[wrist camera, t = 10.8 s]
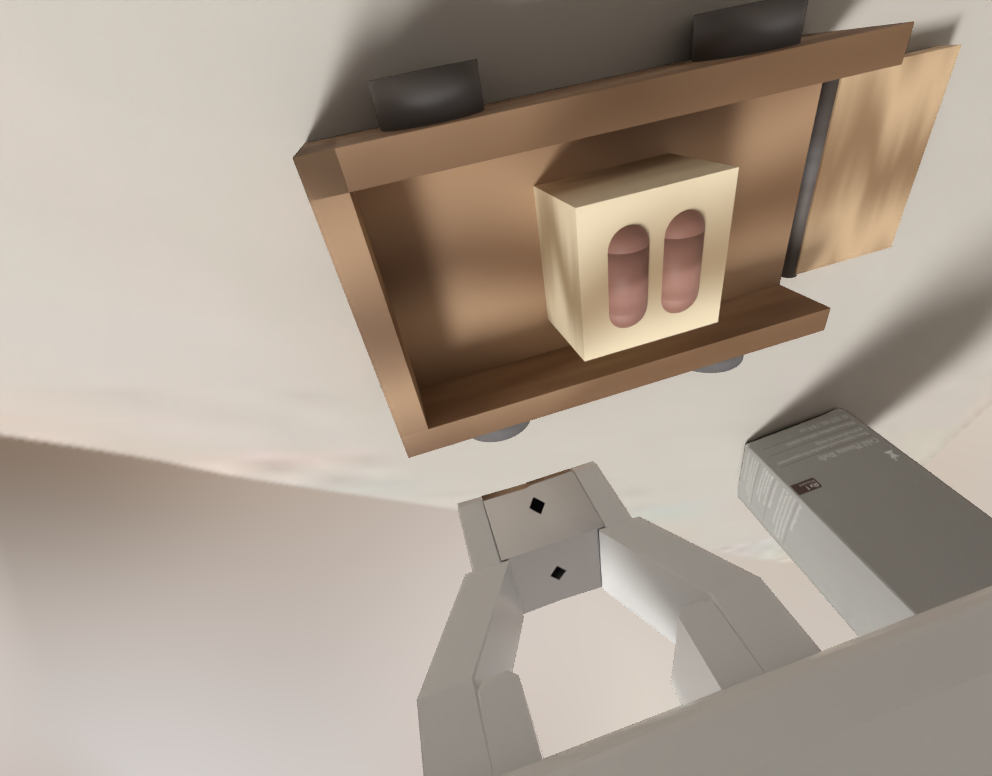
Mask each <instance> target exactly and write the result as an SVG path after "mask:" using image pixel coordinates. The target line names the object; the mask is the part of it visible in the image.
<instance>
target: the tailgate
mask: <svg viewBox="0 0 992 776" xmlns="http://www.w3.org/2000/svg"><path fill="white" fill-rule="evenodd" d="M960 47H961V45H949V46H937V47H932V48H928V49H924V50H919V51H915V52H911V53H906V54H905V55H904V59H903V62H902V64H901V65H897V66H893V67H888V68H884V69H880V70H875V71H871V72H867V73H862V74H858V75H854V76H849V77H845V78H841V79H837V80H832V81H828V82H824V83H822V87H821V92H820V97H819V101H818V106H817V111H816V115H815V120H814V125H813V130H812V134H811V139H810V144H809V148H808V153H807V158H806V162H805V167H804V172H803V176H802V181H801V186H800V190H799V195H798V200H797V205H796V209H795V214H794V219H793V223H792V228H791V233H790V237H789V242H788V247H787V251H786V256H785V261H784V265H783V270H782V275H781V277H784V278H793V277H796V276H797V274H799V273H803V272H806V271H810V270H813V269H817V268H820V267H823V266H827V265H830V264H834V263H837V262H841V261H844V260H848V259H851V258H854V257H858V256H861V255H865V254H868V253H872V252H875V251H879V250H882V249H885V248H889V247H891V246H892V243H893V240H894V237H895V234H896V231H897V228H898V225H899V223H900V220H901V217H902V214H903V211H904V208H905V205H906V202H907V200H908V197H909V194H910V191H911V188H912V185H913V182H914V179H915V177H916V174H917V171H918V168H919V165H920V162H921V159H922V156H923V154H924V151H925V148H926V145H927V142H928V139H929V136H930V134H931V131H932V128H933V125H934V122H935V119H936V116H937V113H938V111H939V108H940V105H941V102H942V99H943V96H944V93H945V90H946V88H947V85H948V82H949V79H950V76H951V73H952V70H953V67H954V65H955V62H956V59H957V56H958V53H959V50H960Z"/></svg>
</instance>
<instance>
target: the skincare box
mask: <svg viewBox="0 0 992 776" xmlns="http://www.w3.org/2000/svg"><path fill="white" fill-rule="evenodd" d="M737 496H738V498H739V499H740V500H741V501H742V502H743V503H744V504H745V506H746V507H747V508H748V509H749V510H750V511H751V513H752V514H753V515H754V516H755V517H756V519H757V520H758V521H759V522H760V523H761V524H762V526H763V527H764V528H765V529H766V530H767V531H768V533H769V534H770V535H771V536H772V537H773V538H774V539H775V541H776V542H777V543H778V544H779V545H780V546H781V548H782V549H783V550H784V551H785V552H786V553H787V555H788V556H789V557H790V558H791V559H792V560H793V561H794V563H795V564H796V565H797V566H798V567H799V568H800V569H801V571H802V572H803V573H804V574H805V575H806V576H807V577H808V579H809V580H810V581H811V582H812V583H813V585H815V587H816V588H817V589H818V590H819V592H820V593H821V594H822V595H823V596H824V597H825V598H826V600H827V601H828V602H829V603H830V604H831V605H832V607H833V608H834V609H835V610H836V611H837V612H838V614H839V615H840V616H841V617H842V618H843V619H844V620H845V621H846V623H847V624H848V625H849V626H850V627H851V629H852V630H853V631H854V632H855V633H856V635H857V636H858V637H860V636H862V635H865V634H868V633H870V632H873V631H875V630H878V629H880V628H883V627H886V626H888V625H891V624H893V623H896V622H899V621H901V620H904V619H906V618H909V617H911V616H914V615H917V614H919V613H922V612H924V611H927V610H930V609H932V608H935V607H937V606H940V605H943V604H945V603H948V602H950V601H953V600H955V599H958V598H961V597H963V596H966V595H968V594H971V593H974V592H976V591H979V590H981V589H984V588H986V587H989V586H992V518H991V517H990V516H988V515H987V514H986V513H984V512H983V511H982V510H980V509H979V508H978V507H976V506H975V505H974V504H972V503H971V502H970V501H968V500H967V499H965V498H964V497H963V496H961V495H960V494H959V493H957V492H956V491H955V490H953V489H952V488H950V487H949V486H948V485H946V484H945V483H944V482H943V481H941V480H940V479H939V478H937V477H936V476H935V475H933V474H932V473H931V472H929V471H928V470H927V469H925V468H924V467H922V466H921V465H920V464H918V463H917V462H916V461H914V460H913V459H912V458H910V457H909V456H908V455H906V454H905V453H903V452H902V451H901V450H899V449H898V448H897V447H895V446H894V445H893V444H891V443H890V442H889V441H887V440H886V439H885V438H883V437H882V436H881V435H879V434H878V433H877V432H875V431H874V430H873V429H871V428H870V427H869V426H867V425H866V424H864V423H863V422H862V421H860V420H859V419H858V418H856V417H855V416H853V415H852V414H851V413H849V412H848V411H845V410H842V409H836V410H833V411H830V412H829V413H827V414H824V415H822V416H819V417H816V418H814V419H811V420H809V421H806V422H803V423H801V424H798V425H796V426H793V427H791V428H788V429H786V430H782V431H780V432H777V433H774V434H772V435H769V436H766V437H764V438H761V439H759V440H756V441H753V442H750V443H747V444H746V446H745V452H744V458H743V464H742V470H741V475H740V480H739V486H738V493H737Z"/></svg>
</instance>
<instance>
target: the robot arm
mask: <svg viewBox="0 0 992 776" xmlns="http://www.w3.org/2000/svg"><path fill="white" fill-rule="evenodd" d="M481 497H482V499H481ZM481 497H479V498H475V499H472V500H468V501H465V502H461V503H458V512H459V517H460V520H461V525H462V529H463V534H464V538H465V542H466V546H467V551H468V555H469V559H470V563H471V567H472V572H470V573H468V574H465V577H464V579H463V582H462V584H461V587H460V589H459V592H458V595H457V597H456V600H455V602H454V605H453V608H452V610H451V613H450V616H449V618H448V621H447V623H446V626H445V628H444V631H443V634H442V636H441V639H440V642H439V644H438V647H437V649H436V652H435V654H434V657H433V660H432V662H431V665H430V667H429V670H428V673H427V675H426V678H425V681H424V683H423V686H422V688H421V691H420V693H419V696H418V699H417V707H418V718H419V730H420V741H421V752H422V764H423V775H424V776H992V586H989V587H986V588H984V589H981V590H979V591H976V592H974V593H971V594H968V595H966V596H963V597H961V598H958V599H955V600H953V601H950V602H948V603H945V604H943V605H940V606H937V607H935V608H932V609H930V610H927V611H924V612H922V613H919V614H917V615H914V616H911V617H909V618H906V619H904V620H901V621H899V622H896V623H893V624H891V625H888V626H886V627H883V628H880V629H878V630H875V631H873V632H870V633H868V634H865V635H862V636H860V637H857V638H855V639H852V640H849V641H847V642H844V643H842V644H839V645H837V646H834V647H831V648H829V649H826V650H824V651H821V650H820V649H819V648H818V646H817V645H816V644H815V643H814V642H813V640H812V639H811V638H810V637H809V635H808V634H807V633H806V632H805V631H804V629H803V628H802V627H801V626H800V625H799V624H798V622H797V621H796V620H795V619H794V617H793V616H792V615H791V614H790V613H789V612H788V610H787V609H786V608H785V607H784V606H783V604H782V603H781V602H780V601H779V600H778V598H777V597H776V596H775V595H774V593H773V592H772V591H771V590H770V589H769V587H768V586H767V585H766V584H765V583H764V582H763V580H762V579H761V578H760V577H758V576H756V575H754V574H752V573H750V572H748V571H746V570H744V569H742V568H740V567H738V566H736V565H734V564H732V563H730V562H728V561H726V560H724V559H722V558H720V557H718V556H716V555H715V554H713V553H711V552H709V551H707V550H705V549H703V548H701V547H699V546H697V545H695V544H693V543H691V542H689V541H687V540H685V539H683V538H681V537H679V536H677V535H675V534H673V533H671V532H669V531H667V530H665V529H663V528H661V527H659V526H657V525H655V524H653V523H651V522H649V521H647V520H645V519H643V518H641V517H636V518H632V517H631V516H630V514H629V513H628V511H627V510H626V508H625V507H624V505H623V504H622V502H621V500H620V499H619V497H618V496H617V494H616V493H615V491H614V490H613V488H612V487H611V485H610V484H609V482H608V481H607V479H606V478H605V476H604V475H603V473H602V471H601V470H600V468H599V467H598V465H597V464H596V463H594V462H593V461H592V462H589V463H586V464H583V465H580V466H577V467H574V468H571V469H567V470H564V471H561V472H558V473H555V474H552V475H549V476H545V477H542V478H539V479H536V480H533V481H530V482H527V483H526V484H522V485H519V486H516V487H512V488H509V489H505V490H502V491H498V492H495V493H491V494H488V495H484V496H481ZM599 587H602V589H603V590H605V591H606V592H607V593H608V594H610V595H611V596H612V597H614V598H615V599H616V600H618V601H619V602H620V603H622V604H623V605H624V606H625V607H627V608H628V609H629V610H631V611H632V612H633V613H635V614H636V615H637V616H638V617H640V618H641V619H643V620H644V621H645V622H646V623H648V624H649V625H650V626H652V627H653V628H654V629H655V630H657V631H658V632H659V633H661V634H662V635H663V636H665V637H666V638H667V639H669V640H670V641H671V642H672V643H674V644H675V653H674V661H673V669H672V677H671V685H672V687H673V689H674V691H675V693H676V695H677V697H678V698H679V701H680V703H681V704H682V705H681V706H679V707H676V708H674V709H671V710H669V711H666V712H663V713H661V714H658V715H655V716H653V717H650V718H648V719H645V720H643V721H640V722H638V723H635V724H632V725H630V726H627V727H624V728H622V729H619V730H617V731H614V732H611V733H609V734H606V735H604V736H601V737H599V738H596V739H593V740H591V741H588V742H586V743H583V744H581V745H578V746H575V747H573V748H570V749H568V750H565V751H562V752H560V753H557V754H555V755H552V756H549V757H547V758H543V755H542V751H541V748H540V745H539V741H538V737H537V734H536V731H535V728H534V724H533V721H532V718H531V714H530V711H529V708H528V705H527V701H526V698H525V695H524V692H523V688H522V685H521V682H520V678H519V676H518V675H517V674H515V673H513V667H514V662H515V657H516V652H517V648H518V642H519V638H520V633H521V628H522V623H523V618H524V616H523V614H525V613H527V612H530V611H532V610H535V609H537V608H540V607H543V606H546V605H548V604H551V603H554V602H556V601H559V600H561V599H565V598H568V597H571V596H574V595H577V594H580V593H584V592H587V591H590V590H593V589H596V588H599Z"/></svg>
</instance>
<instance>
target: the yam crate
mask: <svg viewBox="0 0 992 776" xmlns="http://www.w3.org/2000/svg"><path fill="white" fill-rule="evenodd" d="M738 170H739V167H736V166H731V165H726V164H721V163H716V162H711V161H706V160H701V159H696V158H691V157H686V156H681V155H676V154H671V153H668V154H663V155H659V156H655V157H651V158H647V159H643V160H639V161H634V162H630V163H626V164H622V165H618V166H614V167H610V168H606V169H601V170H597V171H593V172H589V173H585V174H581V175H577V176H573V177H568V178H564V179H560V180H556V181H552V182H548V183H544V184H539V185H535V186H533V187H534V196H535V205H536V214H537V223H538V232H539V242H540V251H541V260H542V269H543V278H544V287H545V296H546V306H547V315H548V320H549V321H550V322H551V323H552V324H553V325H554V327H555V328H556V329H557V330H558V331H559V332H560V333H561V335H562V336H563V337H564V338H565V339H566V340H567V342H568V343H569V344H570V345H571V346H572V347H573V349H574V350H575V351H576V352H577V353H578V354H579V356H580V357H581V358H582V359H583V360H584V361H588V360H592V359H595V358H598V357H602V356H605V355H608V354H612V353H615V352H619V351H622V350H625V349H629V348H632V347H635V346H639V345H642V344H646V343H649V342H652V341H656V340H659V339H663V338H666V337H669V336H673V335H676V334H679V333H683V332H686V331H690V330H693V329H696V328H700V327H703V326H706V325H710V324H713V323H717V322H718V317H719V310H720V303H721V295H722V288H723V281H724V273H725V266H726V258H727V251H728V244H729V236H730V229H731V222H732V214H733V207H734V200H735V192H736V185H737V177H738Z"/></svg>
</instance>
